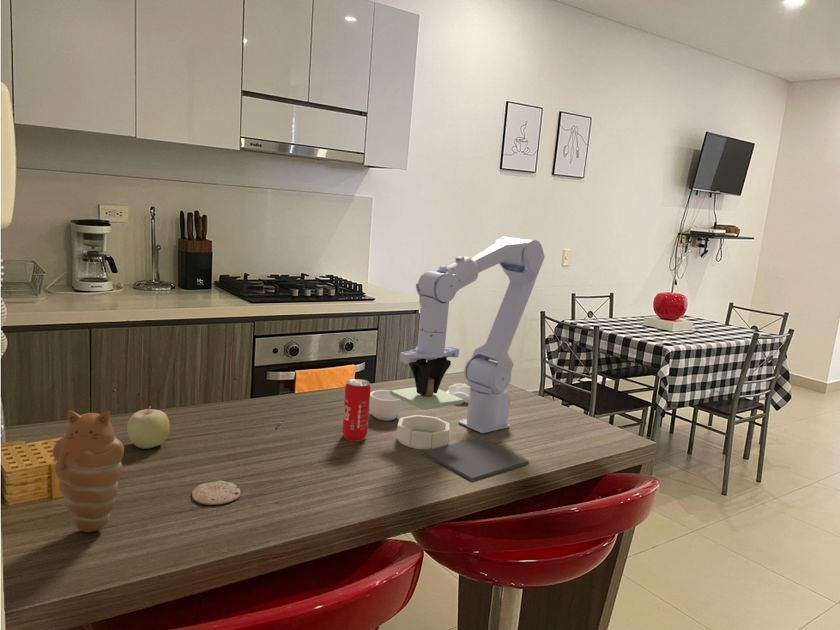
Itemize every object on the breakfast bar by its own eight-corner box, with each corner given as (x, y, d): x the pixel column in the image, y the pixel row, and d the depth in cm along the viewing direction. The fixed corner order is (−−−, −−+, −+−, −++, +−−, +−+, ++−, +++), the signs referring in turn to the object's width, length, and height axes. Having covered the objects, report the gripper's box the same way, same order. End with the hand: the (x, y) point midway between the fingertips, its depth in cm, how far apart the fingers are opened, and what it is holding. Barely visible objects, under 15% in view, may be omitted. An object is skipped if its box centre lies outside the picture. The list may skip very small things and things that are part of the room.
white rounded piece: (459, 390, 158) (434, 380, 165) (457, 407, 158) (432, 396, 166) (487, 385, 164) (461, 376, 171) (485, 402, 165) (460, 391, 172)
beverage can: (362, 443, 130) (366, 387, 127) (338, 439, 131) (342, 383, 128) (369, 434, 135) (373, 380, 132) (346, 431, 136) (350, 377, 133)
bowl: (425, 427, 142) (426, 412, 141) (458, 443, 134) (459, 428, 133) (387, 435, 135) (388, 420, 134) (419, 453, 127) (420, 437, 126)
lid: (429, 388, 140) (431, 369, 140) (463, 403, 132) (465, 383, 131) (389, 394, 133) (391, 374, 132) (423, 409, 125) (425, 389, 124)
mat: (478, 440, 137) (479, 437, 137) (528, 463, 126) (528, 460, 126) (422, 454, 127) (423, 451, 127) (471, 481, 116) (472, 478, 116)
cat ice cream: (46, 546, 85) (43, 419, 82) (68, 517, 93) (66, 399, 89) (116, 545, 87) (116, 420, 83) (132, 516, 94) (132, 401, 91)
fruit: (176, 447, 120) (177, 407, 119) (137, 456, 115) (137, 414, 113) (158, 435, 125) (158, 396, 124) (120, 443, 120) (120, 402, 118)
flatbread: (240, 505, 101) (240, 500, 100) (190, 508, 98) (190, 503, 98) (239, 483, 108) (240, 477, 108) (193, 485, 106) (193, 480, 106)
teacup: (408, 418, 147) (410, 396, 146) (385, 425, 141) (387, 402, 140) (378, 407, 153) (379, 385, 152) (354, 413, 147) (356, 391, 146)
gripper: (445, 323, 138) (440, 383, 140) (392, 328, 128) (388, 392, 131) (468, 330, 132) (462, 392, 135) (414, 335, 123) (409, 402, 126)
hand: (427, 393), depth 132 cm, fingers closed on lid, 3 cm apart
